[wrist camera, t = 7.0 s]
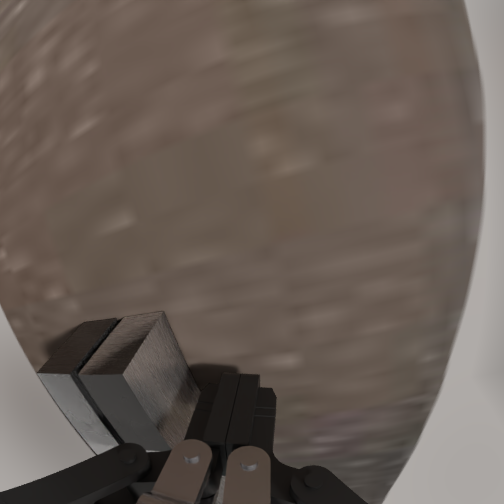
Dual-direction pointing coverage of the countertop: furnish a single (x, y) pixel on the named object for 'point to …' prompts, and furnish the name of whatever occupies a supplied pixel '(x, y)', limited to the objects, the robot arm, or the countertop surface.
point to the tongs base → (81, 384)
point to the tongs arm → (144, 384)
